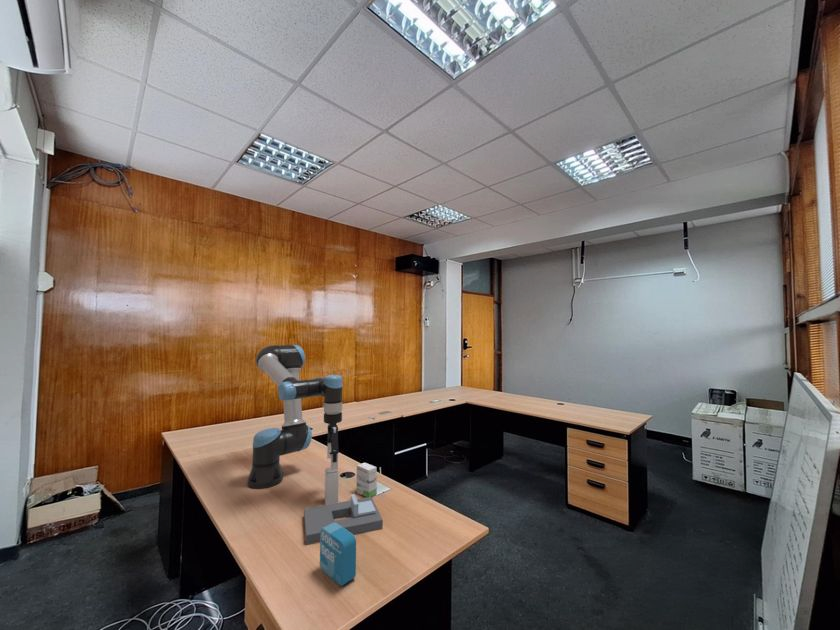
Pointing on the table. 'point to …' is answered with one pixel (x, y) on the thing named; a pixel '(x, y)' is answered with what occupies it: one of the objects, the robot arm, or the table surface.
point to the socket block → (326, 514)
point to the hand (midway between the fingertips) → (332, 463)
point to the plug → (331, 486)
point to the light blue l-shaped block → (361, 507)
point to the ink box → (366, 480)
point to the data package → (338, 553)
